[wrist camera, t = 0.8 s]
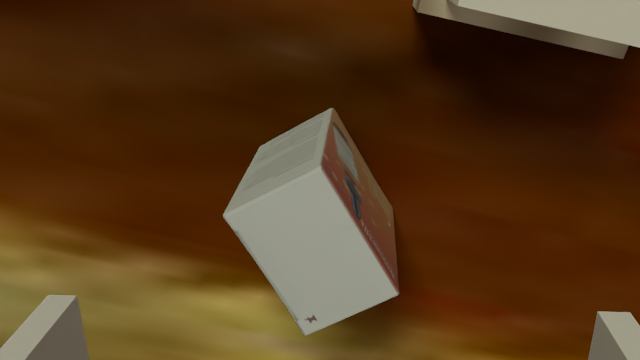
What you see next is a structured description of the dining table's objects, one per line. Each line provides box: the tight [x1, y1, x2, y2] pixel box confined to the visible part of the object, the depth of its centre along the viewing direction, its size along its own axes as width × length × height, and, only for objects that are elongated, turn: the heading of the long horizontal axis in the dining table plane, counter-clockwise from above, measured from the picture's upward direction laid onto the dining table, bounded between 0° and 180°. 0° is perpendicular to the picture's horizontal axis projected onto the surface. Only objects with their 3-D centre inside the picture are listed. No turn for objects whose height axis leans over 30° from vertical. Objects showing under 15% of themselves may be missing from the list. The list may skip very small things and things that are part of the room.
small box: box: [223, 108, 399, 336], centre depth 33 cm, size 8×6×10 cm
